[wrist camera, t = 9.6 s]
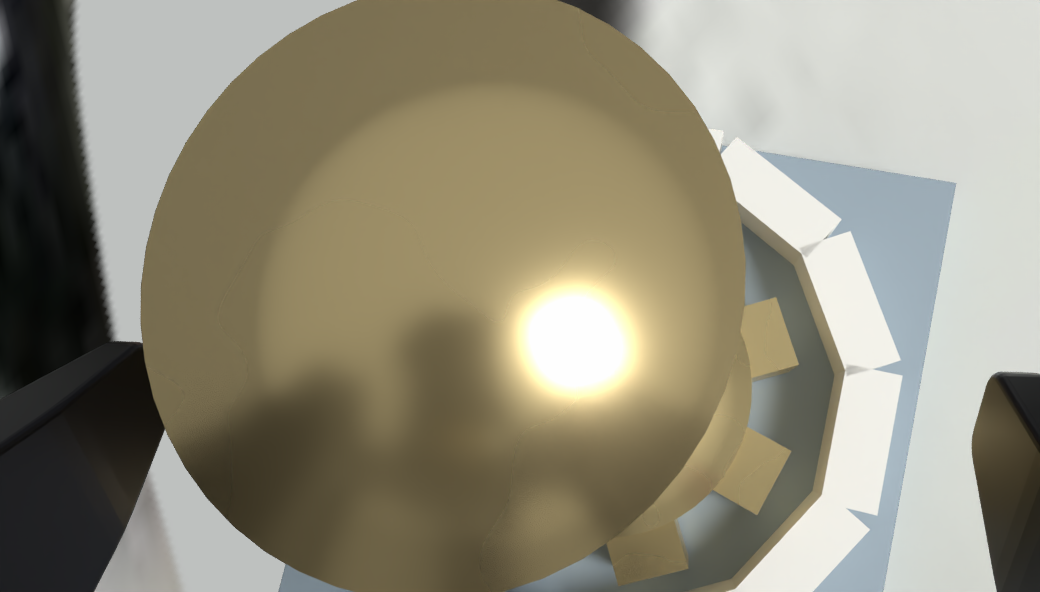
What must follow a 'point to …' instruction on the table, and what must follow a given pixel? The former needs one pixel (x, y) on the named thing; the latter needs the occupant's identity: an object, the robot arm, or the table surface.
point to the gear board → (811, 382)
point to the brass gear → (458, 302)
